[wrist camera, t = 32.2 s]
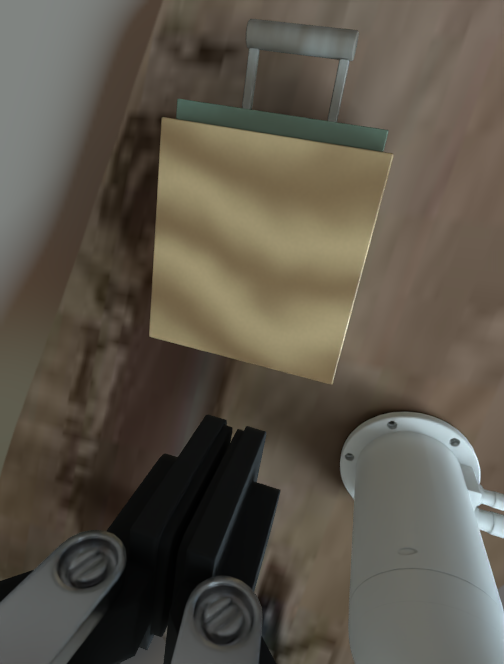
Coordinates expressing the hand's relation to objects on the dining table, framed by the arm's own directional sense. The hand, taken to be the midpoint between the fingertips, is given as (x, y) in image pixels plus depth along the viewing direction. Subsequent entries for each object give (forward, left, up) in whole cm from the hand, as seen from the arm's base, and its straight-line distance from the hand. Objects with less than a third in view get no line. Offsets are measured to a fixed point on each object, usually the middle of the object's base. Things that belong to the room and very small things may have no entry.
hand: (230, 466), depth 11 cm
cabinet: (+5, -1, -27) cm, 27 cm away
